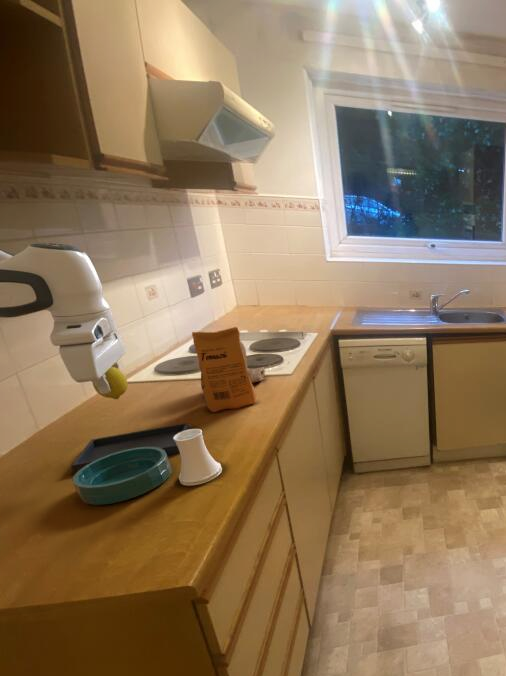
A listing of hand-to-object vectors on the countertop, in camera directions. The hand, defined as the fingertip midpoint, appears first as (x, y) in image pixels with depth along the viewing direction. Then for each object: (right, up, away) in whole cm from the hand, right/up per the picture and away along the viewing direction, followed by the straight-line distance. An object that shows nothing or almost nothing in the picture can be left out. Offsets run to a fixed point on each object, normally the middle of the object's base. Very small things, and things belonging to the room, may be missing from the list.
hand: (111, 386), depth 95 cm
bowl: (+9, -20, -5) cm, 23 cm away
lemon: (0, -3, +1) cm, 3 cm away
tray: (0, -15, +7) cm, 17 cm away
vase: (+22, -19, -2) cm, 29 cm away
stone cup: (+2, 0, +43) cm, 43 cm away
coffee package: (+7, -5, +30) cm, 31 cm away
